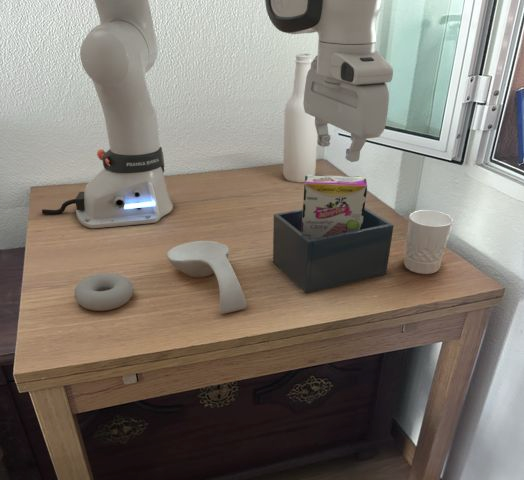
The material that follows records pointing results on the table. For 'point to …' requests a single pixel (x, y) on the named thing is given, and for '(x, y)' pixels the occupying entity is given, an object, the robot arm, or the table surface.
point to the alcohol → (299, 128)
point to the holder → (331, 252)
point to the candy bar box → (332, 205)
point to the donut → (103, 291)
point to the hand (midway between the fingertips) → (337, 152)
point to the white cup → (426, 240)
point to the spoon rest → (210, 269)
